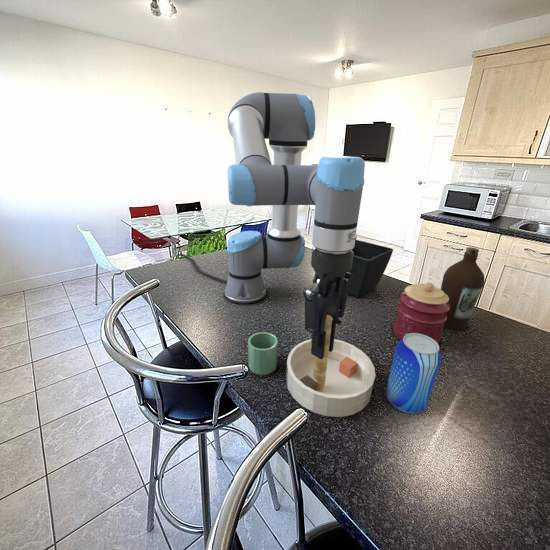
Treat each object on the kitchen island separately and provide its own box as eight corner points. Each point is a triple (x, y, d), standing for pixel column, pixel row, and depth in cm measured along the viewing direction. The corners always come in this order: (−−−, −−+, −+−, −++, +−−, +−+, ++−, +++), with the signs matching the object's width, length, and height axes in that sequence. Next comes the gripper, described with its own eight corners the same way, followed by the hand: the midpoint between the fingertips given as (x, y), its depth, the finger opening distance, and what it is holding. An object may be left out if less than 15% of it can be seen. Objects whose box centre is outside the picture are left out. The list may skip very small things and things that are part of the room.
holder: (242, 366, 74) (241, 340, 71) (263, 353, 79) (263, 328, 75) (262, 381, 69) (262, 354, 66) (282, 366, 74) (283, 341, 71)
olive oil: (424, 314, 98) (443, 244, 88) (451, 311, 101) (472, 242, 90) (448, 333, 89) (472, 256, 79) (477, 329, 91) (504, 254, 81)
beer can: (378, 388, 68) (391, 331, 62) (413, 386, 69) (429, 329, 62) (395, 418, 60) (411, 357, 54) (433, 416, 61) (454, 355, 55)
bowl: (268, 383, 69) (269, 363, 66) (319, 346, 82) (321, 328, 79) (339, 438, 56) (343, 415, 54) (386, 384, 69) (390, 364, 67)
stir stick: (309, 385, 66) (315, 317, 59) (317, 378, 68) (324, 312, 61) (319, 392, 65) (326, 323, 57) (327, 385, 66) (335, 318, 59)
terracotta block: (338, 371, 72) (339, 361, 70) (345, 365, 74) (347, 356, 72) (348, 378, 70) (350, 368, 68) (355, 372, 72) (357, 362, 70)
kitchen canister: (419, 354, 79) (435, 297, 72) (383, 329, 90) (393, 277, 83) (449, 341, 85) (466, 287, 78) (411, 319, 95) (424, 270, 88)
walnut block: (297, 390, 66) (297, 380, 65) (306, 384, 68) (307, 374, 66) (306, 399, 64) (307, 388, 62) (316, 392, 65) (317, 382, 64)
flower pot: (346, 274, 129) (350, 237, 122) (386, 288, 116) (394, 248, 109) (319, 287, 116) (323, 246, 109) (362, 304, 104) (369, 260, 97)
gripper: (324, 264, 45) (313, 380, 55) (373, 243, 56) (356, 343, 65) (288, 252, 50) (284, 360, 60) (339, 235, 61) (328, 329, 70)
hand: (321, 351), depth 62 cm, fingers closed on stir stick, 3 cm apart
